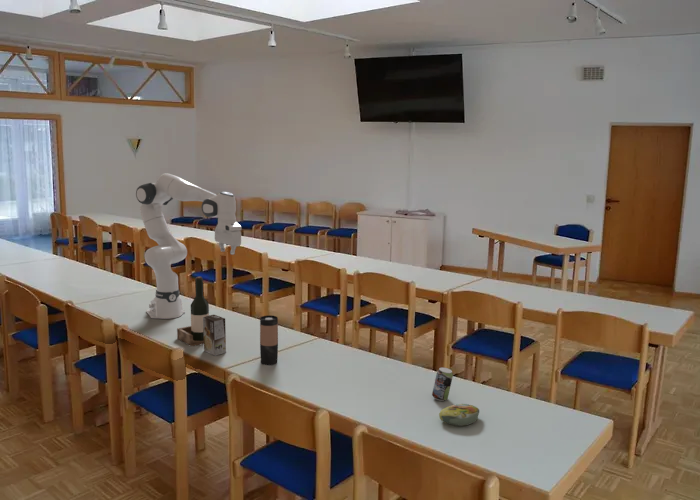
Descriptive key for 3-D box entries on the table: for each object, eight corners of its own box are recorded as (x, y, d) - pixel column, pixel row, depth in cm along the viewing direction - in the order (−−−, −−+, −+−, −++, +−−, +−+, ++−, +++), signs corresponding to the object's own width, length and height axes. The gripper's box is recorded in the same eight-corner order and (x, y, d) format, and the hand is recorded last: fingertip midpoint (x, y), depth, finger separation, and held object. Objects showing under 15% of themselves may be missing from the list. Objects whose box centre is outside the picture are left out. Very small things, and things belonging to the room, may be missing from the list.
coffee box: (226, 352, 277) (226, 318, 274) (214, 356, 273) (214, 321, 270) (214, 347, 283) (214, 314, 280) (203, 350, 279) (202, 316, 276)
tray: (177, 338, 295) (177, 328, 294) (204, 332, 304) (204, 323, 303) (191, 346, 284) (190, 336, 283) (219, 340, 293) (218, 330, 293)
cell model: (431, 412, 216) (464, 390, 221) (440, 431, 217) (472, 409, 222) (447, 418, 206) (481, 396, 211) (456, 438, 207) (490, 415, 212)
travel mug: (280, 360, 269) (280, 316, 265) (273, 366, 262) (273, 321, 258) (265, 358, 271) (264, 314, 268) (257, 364, 264) (256, 319, 260)
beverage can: (430, 395, 235) (431, 366, 233) (449, 395, 236) (450, 365, 234) (433, 402, 229) (435, 372, 227) (453, 402, 230) (454, 372, 227)
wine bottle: (213, 337, 296) (211, 276, 291) (201, 342, 289) (199, 279, 283) (199, 334, 300) (198, 274, 294) (187, 339, 292) (186, 277, 287)
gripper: (211, 223, 308) (211, 250, 310) (231, 228, 292) (232, 256, 295) (222, 222, 312) (222, 249, 314) (243, 227, 297) (243, 255, 299)
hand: (227, 252), depth 304 cm, fingers open, 8 cm apart
